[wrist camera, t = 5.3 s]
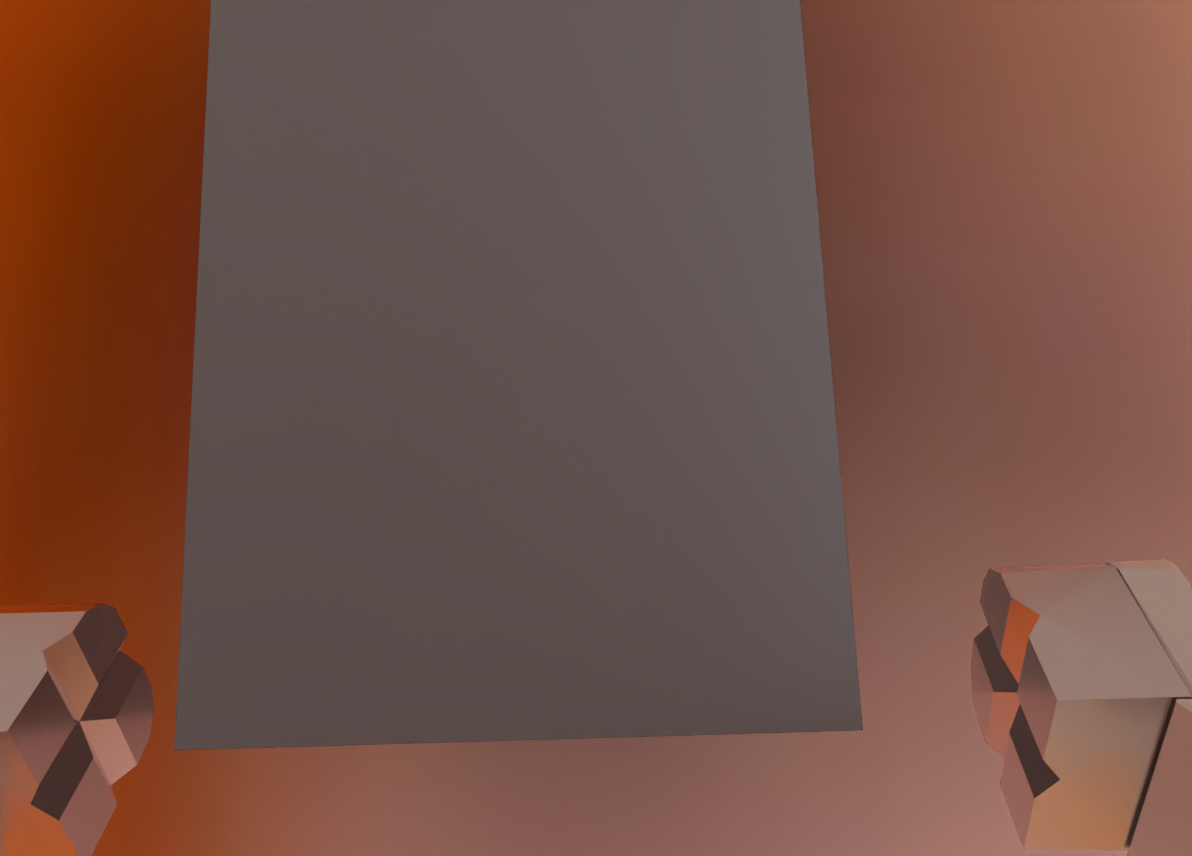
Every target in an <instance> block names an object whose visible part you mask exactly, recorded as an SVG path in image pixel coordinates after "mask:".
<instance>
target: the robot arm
mask: <svg viewBox="0 0 1192 856" xmlns="http://www.w3.org/2000/svg"><path fill="white" fill-rule="evenodd" d="M980 604H981V606H982V609H983V611H984V614H985V617H986V619H987V622H988V624H989V625H988V626H987V627H986V628H985V629H984V630H983V631H982V632H981V633H980V634H979V635H978V636H977V637H976V638H974V645H973V653H972V662H971V675H972V692H973V699H974V704H975V709H976V713H977V718H978V721H979V724H980V727H981V730H982V733H983V736H984V739H985V742H986V743H987V744H989V745H990V746H991V747H992V748H994V749H995V750H996V751H997V752H999V753H1000V754H1001V755H1002V756H1004V757H1005V759H1004V764H1003V770H1002V776H1001V781H1000V785H1001V788H1002V791H1003V793H1004V796H1005V799H1006V802H1007V804H1008V807H1009V810H1010V813H1011V816H1012V818H1013V821H1014V824H1015V827H1016V829H1017V832H1018V835H1019V838H1020V841H1021V843H1022V846H1023V849H1024V850H1129V851H1128V854H1127V855H1128V856H1192V587H1191V585H1190V584H1189V583H1188V581H1187V580H1186V578H1185V577H1184V575H1183V574H1182V572H1181V571H1180V569H1179V568H1178V566H1177V565H1175V564H1173V563H1172V562H1170V561H1169V560H1167V559H1154V560H1136V561H1119V562H1107V563H1105V564H1077V565H1056V566H1034V567H1012V568H991V569H989V571H988V573H987V575H986V577H985V579H984V581H983V587H982V593H981V599H980ZM127 634H128V633H127V631H126V629H125V627H124V625H123V623H122V621H121V619H120V617H119V616H118V614H117V612H116V610H115V608H113V607H109V606H106V605H103V604H36V605H2V606H0V856H91V855H92V853H93V851H94V850H95V848H96V846H97V844H98V842H99V840H100V838H101V836H102V834H103V832H104V830H105V828H106V826H107V824H108V822H109V820H110V818H111V816H112V814H113V812H114V810H115V808H116V806H117V802H116V799H115V795H114V792H113V788H112V784H113V783H115V782H116V781H117V780H118V779H120V778H121V777H122V776H123V775H125V774H126V773H127V772H129V771H130V770H131V769H132V768H134V767H135V766H136V765H137V764H138V762H139V760H140V758H141V756H142V754H143V751H144V749H145V747H146V745H147V743H148V741H149V738H150V732H151V725H152V719H153V713H154V704H153V697H152V690H151V685H150V683H149V680H148V678H147V676H146V673H145V671H144V669H143V667H142V666H140V665H139V664H138V663H136V662H135V661H133V660H132V659H131V658H129V657H128V656H127V655H125V654H124V653H122V652H121V651H120V649H121V647H122V645H123V643H124V641H125V639H126V636H127Z"/></svg>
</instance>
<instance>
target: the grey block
mask: <svg viewBox="0 0 1192 856" xmlns="http://www.w3.org/2000/svg"><path fill="white" fill-rule="evenodd" d="M854 730H863V727H862V716H861V704H860V692H859V681H858V669H857V658H856V646H855V634H854V623H853V611H852V599H851V588H850V576H849V565H848V553H847V541H846V530H845V518H844V507H843V495H842V483H841V472H840V460H839V449H838V437H837V425H836V414H835V402H834V390H833V379H832V367H831V356H830V344H829V332H828V321H827V309H826V298H825V286H824V274H823V263H822V251H821V240H820V228H819V216H818V205H817V193H816V181H815V170H814V158H813V147H812V135H811V123H810V112H809V100H808V89H807V77H806V65H805V54H804V42H803V31H802V19H801V7H800V0H211V11H210V31H209V52H208V72H207V92H206V113H205V133H204V154H203V174H202V195H201V215H200V236H199V256H198V277H197V297H196V318H195V338H194V359H193V379H192V399H191V420H190V440H189V461H188V481H187V502H186V522H185V543H184V563H183V584H182V604H181V625H180V645H179V666H178V686H177V706H176V727H175V747H174V750H208V749H242V748H276V747H310V746H344V745H378V744H412V743H446V742H480V741H514V740H548V739H582V738H616V737H650V736H684V735H718V734H752V733H786V732H820V731H854Z"/></svg>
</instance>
